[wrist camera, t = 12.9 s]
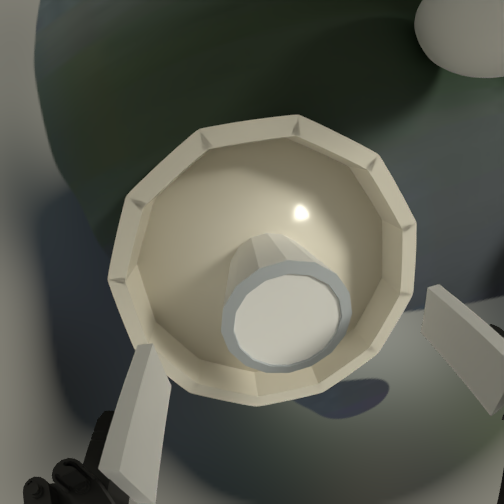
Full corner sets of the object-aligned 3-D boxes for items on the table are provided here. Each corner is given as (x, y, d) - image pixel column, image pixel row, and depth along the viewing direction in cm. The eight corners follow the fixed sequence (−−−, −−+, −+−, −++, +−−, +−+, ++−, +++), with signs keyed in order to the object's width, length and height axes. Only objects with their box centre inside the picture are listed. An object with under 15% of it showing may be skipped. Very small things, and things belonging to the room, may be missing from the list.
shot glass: (200, 278, 21) (192, 335, 14) (264, 203, 20) (286, 230, 13) (272, 328, 23) (289, 391, 16) (334, 263, 22) (376, 310, 15)
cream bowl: (101, 158, 18) (76, 162, 15) (379, 114, 19) (408, 110, 15) (172, 385, 25) (167, 416, 22) (383, 342, 26) (402, 367, 22)
